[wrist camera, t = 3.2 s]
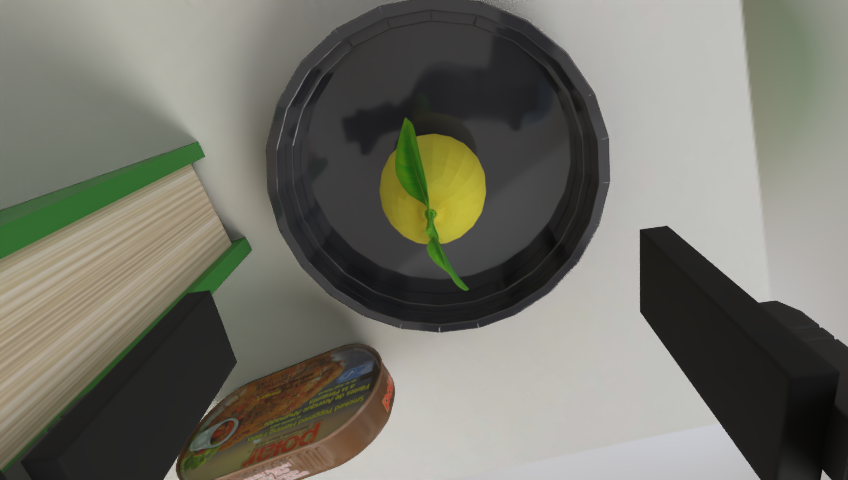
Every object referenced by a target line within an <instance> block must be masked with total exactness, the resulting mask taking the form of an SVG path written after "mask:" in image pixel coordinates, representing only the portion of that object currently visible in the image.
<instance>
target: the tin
mask: <svg viewBox="0 0 848 480" xmlns="http://www.w3.org/2000/svg"><path fill="white" fill-rule="evenodd" d="M394 396H395V386H394V382H393V379H392V377H391V375H390V374H389V372H388V370H387V369H386V367H385V366H384V364H383V363H382V359H381V357H380V355H379V353H378V352H377V351H376V350H375V349H374V348H372V347H370V346H367V345H362V344H352V345H346V346H342V347H339V348H336V349H333V350H331V351H328V352H326V353H323V354H321V355H319V356H316V357H314V358H311V359H308V360H306V361H304V362H301V363H299V364H296V365H294V366H291V367H289V368H286V369H284V370H281V371H278V372H276V373H274V374H271V375H269V376H266V377H264V378H261V379H258V380H256V381H253V382H251V383H249V384H247V385H245V386H243V387H241V388H239V389H238V390H236V391H235V392H233V393H232V394H230V395H229V396H227V397H226V398H225V399H223V400H222V401H221V402H220V403H218V404H217V405H216V406H215V407H214V408H213V409H212V410H211V411H210V412H209V413H208V414H207V415H206V416H205V417H204V418H203V419H202V420H201V421H200V422H199V424H198V425H197V427H196V428H195V430H194V431H193V433H192V435H191V436H190V438H189V439H188V441H187V443H186V444H185V446H184V447H183V449H182V451H181V452H180V454H179V456H178V459H177V463H176V473H177V476H178V478H179V480H301V479H304V478H307V477H310V476H313V475H316V474H319V473H321V472H324V471H327V470H330V469H332V468H335V467H338V466H340V465H342V464H344V463H346V462H347V461H349V460H351V459H352V458H354V457H355V456H356V455H358V454H359V453H360V452H362V451H363V450H364V449H365V448H366V447H367V446H368V445H369V444H370V443H371V442H372V441H373V440H374V439H375V438H376V437H377V436H378V434H379V433H380V432H381V430H382V429H383V427H384V426H385V424H386V423H387V421H388V419H389V417H390V414H391V410H392V406H393V402H394Z"/></svg>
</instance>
